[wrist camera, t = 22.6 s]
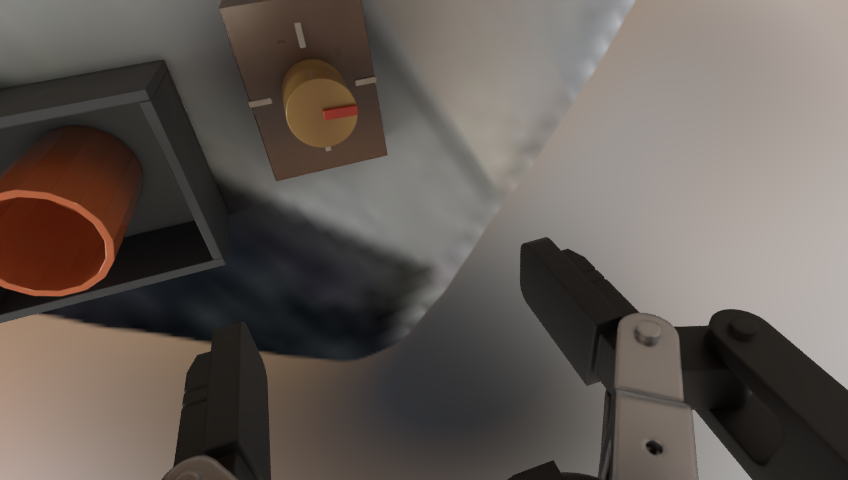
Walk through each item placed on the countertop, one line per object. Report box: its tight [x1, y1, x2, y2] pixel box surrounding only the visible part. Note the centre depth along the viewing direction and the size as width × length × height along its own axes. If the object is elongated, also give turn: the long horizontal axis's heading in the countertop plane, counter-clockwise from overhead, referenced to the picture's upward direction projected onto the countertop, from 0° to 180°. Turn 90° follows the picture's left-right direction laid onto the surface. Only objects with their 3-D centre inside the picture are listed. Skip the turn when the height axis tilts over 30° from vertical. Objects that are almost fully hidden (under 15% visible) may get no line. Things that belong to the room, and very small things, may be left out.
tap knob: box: [281, 59, 358, 147], centre depth 28 cm, size 4×4×5 cm
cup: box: [0, 126, 144, 296], centre depth 28 cm, size 6×6×9 cm
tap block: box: [219, 0, 387, 181], centre depth 31 cm, size 11×8×3 cm
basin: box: [0, 60, 229, 323], centre depth 29 cm, size 12×14×6 cm
